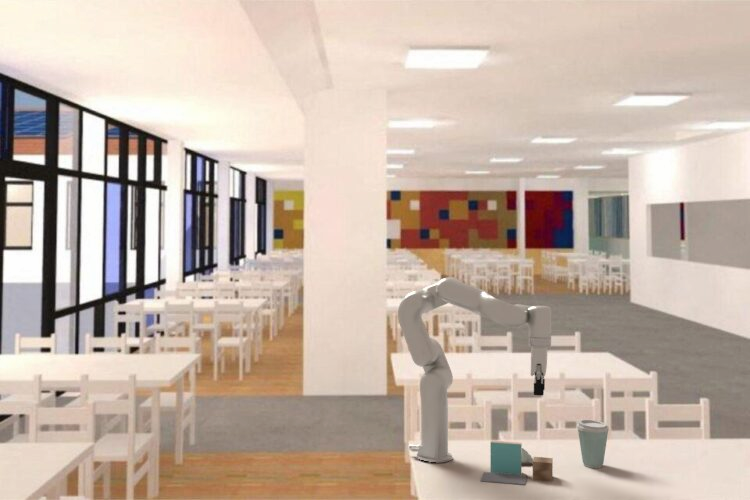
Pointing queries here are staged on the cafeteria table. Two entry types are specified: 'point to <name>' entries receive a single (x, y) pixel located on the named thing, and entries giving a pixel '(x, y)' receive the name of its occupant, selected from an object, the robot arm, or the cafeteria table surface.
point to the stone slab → (526, 458)
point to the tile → (506, 457)
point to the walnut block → (542, 469)
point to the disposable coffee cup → (592, 442)
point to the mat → (504, 478)
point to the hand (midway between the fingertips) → (539, 392)
